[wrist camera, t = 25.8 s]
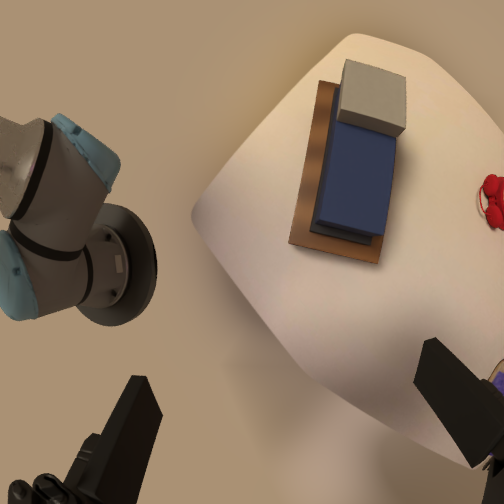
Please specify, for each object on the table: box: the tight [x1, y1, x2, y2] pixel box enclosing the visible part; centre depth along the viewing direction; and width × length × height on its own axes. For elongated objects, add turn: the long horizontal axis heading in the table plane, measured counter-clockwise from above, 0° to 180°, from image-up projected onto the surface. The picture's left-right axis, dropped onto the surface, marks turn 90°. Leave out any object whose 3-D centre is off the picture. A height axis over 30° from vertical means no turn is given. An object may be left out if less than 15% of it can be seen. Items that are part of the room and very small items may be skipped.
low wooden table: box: [288, 80, 396, 264], centre depth 35 cm, size 24×12×6 cm, turn 168°
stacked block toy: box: [309, 59, 406, 245], centre depth 27 cm, size 20×8×10 cm, turn 168°
